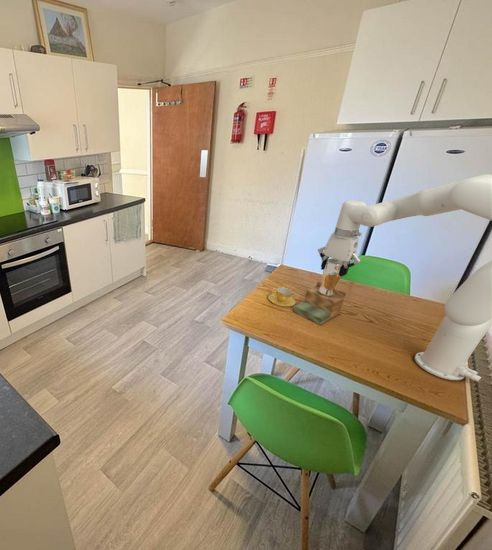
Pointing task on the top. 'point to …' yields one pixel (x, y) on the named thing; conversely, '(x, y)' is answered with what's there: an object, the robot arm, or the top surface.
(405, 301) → the top surface
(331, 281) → the beer glass
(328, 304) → the shelf riser
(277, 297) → the cup
